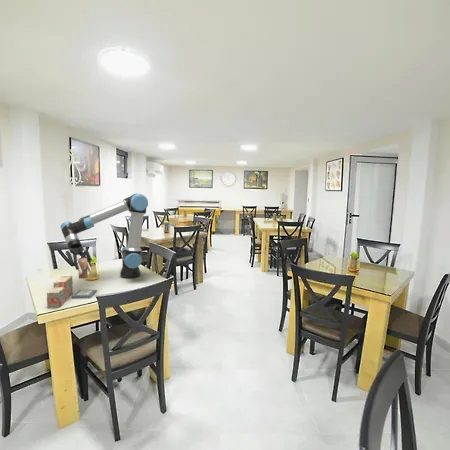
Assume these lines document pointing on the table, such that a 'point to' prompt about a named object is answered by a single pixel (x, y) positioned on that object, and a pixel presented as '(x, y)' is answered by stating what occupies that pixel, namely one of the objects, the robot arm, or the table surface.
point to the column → (83, 267)
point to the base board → (84, 294)
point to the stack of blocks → (60, 292)
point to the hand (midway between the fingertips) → (85, 272)
